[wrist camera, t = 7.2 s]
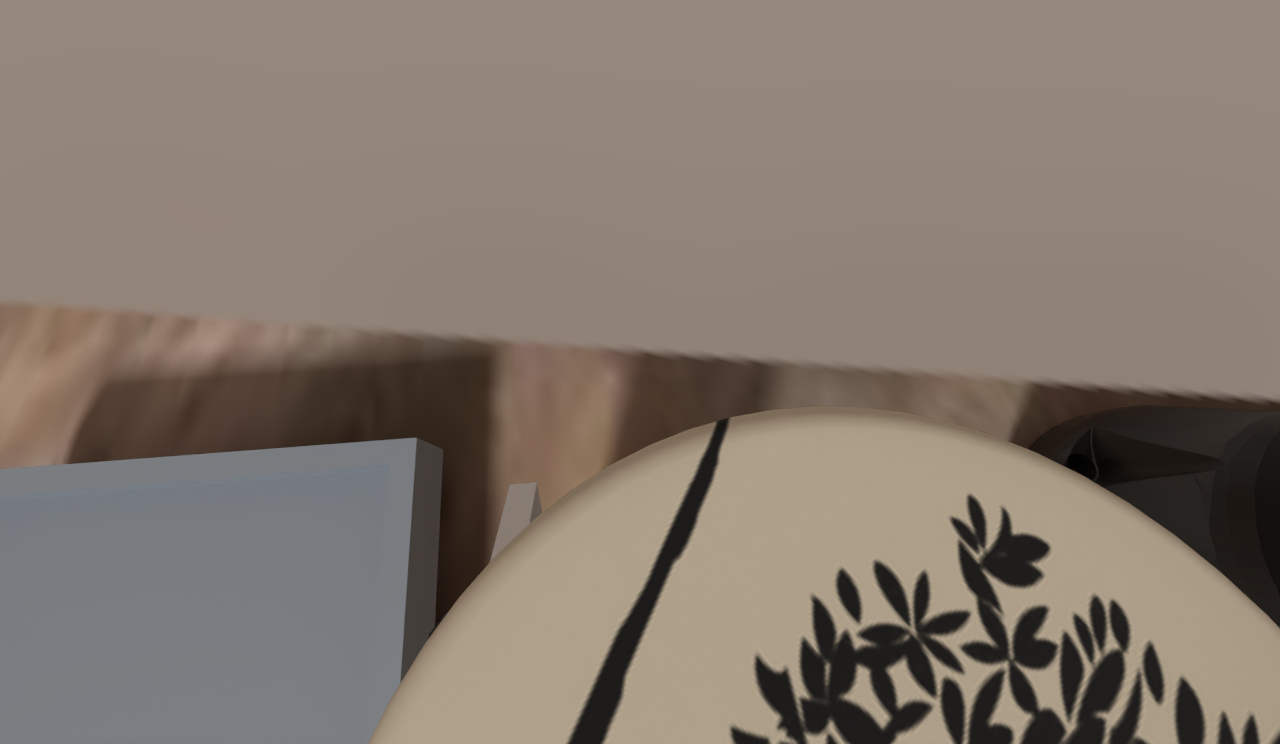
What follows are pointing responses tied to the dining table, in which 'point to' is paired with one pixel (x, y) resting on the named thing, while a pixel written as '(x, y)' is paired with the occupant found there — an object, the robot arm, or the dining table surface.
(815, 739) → the travel mug
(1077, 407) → the dining table surface
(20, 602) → the shallow gray tray
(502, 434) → the dining table surface
